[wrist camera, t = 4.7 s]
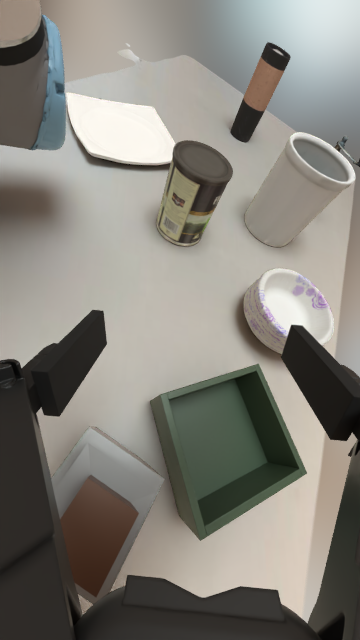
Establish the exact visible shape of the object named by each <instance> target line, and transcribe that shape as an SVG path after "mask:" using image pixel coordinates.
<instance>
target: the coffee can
mask: <svg viewBox="0 0 360 640" xmlns="http://www.w3.org/2000/svg"><path fill="white" fill-rule="evenodd" d="M172 155H173V157H172V161H171V165H170V169H169V173H168V177H167V181H166V185H165V189H164V193H163V198H162V202H161V206H160V210H159V214H158V218H157V221H156V225H157V229H158V231H159V232H160V234H161V235H162V236H163V237H164V238H165V239H167V240H168V241H170V242H172V243H174V244H176V245H180V246H191V245H194V244H196V243H198V242H199V240H200V239H201V236H202V234H203V232H204V230H205V228H206V226H207V224H208V222H209V220H210V218H211V216H212V214H213V212H214V210H215V208H216V206H217V204H218V202H219V199H220V198H221V196H222V193H223V191H224V189H225V187H226V185H227V183H228V182H229V181H230V179H231V177H232V174H233V170H232V167H231V165H230V163H229V162H228V160H227V159H226V158H225V157H224V156H223V155H222V154H221V153H219V152H218V151H217V150H215V149H213V148H212V147H210V146H208V145H205V144H203V143H200V142H196V141H188V140H187V141H181V142H178V143H177V144H176V145H175V146H174V148H173V153H172Z"/></svg>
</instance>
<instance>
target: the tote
mask: <svg viewBox="0 0 360 640" xmlns="http://www.w3.org/2000/svg"><path fill="white" fill-rule="evenodd" d="M150 403H151V407H152V411H153V415H154V419H155V423H156V426H157V430H158V434H159V438H160V442H161V446H162V450H163V454H164V458H165V462H166V466H167V469H168V473H169V477H170V481H171V485H172V489H173V493H174V497H175V501H176V505H177V508H178V512H179V516H180V517H181V518H182V520H183V521H184V522H185V523H186V524H187V526H188V527H189V528H190V529H191V530H192V532H193V533H194V534H195V535H196V536H197V538H198V539H199V540H200V541H201V540H202V539H204V538H206V537H207V536H209V535H210V534H212V533H213V532H215V531H217V530H218V529H220V528H221V527H223V526H224V525H226V524H228V523H229V522H231V521H232V520H234V519H236V518H237V517H239V516H240V515H242V514H243V513H245V512H247V511H248V510H250V509H251V508H253V507H255V506H256V505H258V504H259V503H261V502H262V501H264V500H266V499H267V498H269V497H270V496H272V495H274V494H275V493H277V492H278V491H280V490H281V489H283V488H285V487H286V486H288V485H289V484H291V483H293V482H294V481H296V480H297V479H299V478H300V477H302V476H303V475H305V474H307V472H306V470H305V467H304V465H303V463H302V461H301V458H300V456H299V454H298V452H297V449H296V447H295V445H294V443H293V440H292V438H291V436H290V433H289V431H288V429H287V427H286V424H285V422H284V420H283V418H282V415H281V413H280V411H279V409H278V406H277V404H276V402H275V400H274V397H273V395H272V393H271V391H270V388H269V386H268V384H267V382H266V379H265V377H264V375H263V373H262V370H261V368H260V366H259V364H256V365H253V366H250V367H247V368H244V369H240V370H237V371H234V372H231V373H228V374H225V375H221V376H218V377H215V378H212V379H209V380H205V381H202V382H199V383H196V384H193V385H189V386H186V387H183V388H180V389H177V390H174V391H170V392H167V393H164V394H161V395H159V396H157V397H156V398H154V399H153V400H151V401H150Z"/></svg>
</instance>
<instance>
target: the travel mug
mask: <svg viewBox="0 0 360 640" xmlns="http://www.w3.org/2000/svg"><path fill="white" fill-rule="evenodd" d="M289 60H290V55H289V54H288V53H287V52H285V51H284V50H283V49H282V48H280V47H278V46H277V45H275V44H272V43H267V44H266V46H265V48H264V51H263V53H262V56H261V58H260V60H259V62H258V65H257V67H256V70H255V72H254V74H253V77H252V79H251V81H250V84H249V86H248V88H247V91H246V93H245V95H244V98H243V100H242V103H241V105H240V108H239V111H238V113H237V116H236V118H235V121H234V123H233V126H232V129H231V134H232V135H233V136H234V137H235V138H236V139H238V140H240V141H242V142H248V141H249V139H250V138H251V136H252V134H253V132H254V130H255V128H256V126H257V124H258V123H259V121H260V119H261V117H262V115H263V113H264V111H265V109H266V107H267V105H268V103H269V101H270V99H271V97H272V95H273V93H274V91H275V89H276V87H277V85H278V83H279V81H280V79H281V77H282V75H283V73H284V70H285V68H286V66H287V64H288V62H289Z"/></svg>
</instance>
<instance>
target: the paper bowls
mask: <svg viewBox="0 0 360 640" xmlns="http://www.w3.org/2000/svg"><path fill="white" fill-rule="evenodd" d="M244 313H245V317H246V319H247V322H248V324H249V326H250V328H251V330H252V332H253V333H254V334H255V336H256V337H257V338H258V339H259V340H260V341H261V342H262V343H263V344H265V345H266V346H267V347H268V348H270V349H272V350H273V351H276V352H278V353H280V354H282V352H283V349H284V346H285V343H286V340H287V336H288V333H289V330H290V327H291V325H302V326H303V327H304V328H305V329H306V330H307V331H308V332H309V333H310V334H311V335H312V336H313V337H314V338H315V339H316V340H317V341H318V342H319V343H320V344H321V345H322V346H323V345H325V344H326V343H327V342H328V341H329V340H330V338H331V337H332V334H333V331H334V319H333V314H332V311H331V308H330V306H329V304H328V302H327V300H326V299H325V297H324V296H323V294H322V293H321V292H320V291H319V290H318V288H317V287H316V286H315V285H314V284H313V283H312V282H311V281H309V280H308V279H307V278H305V277H304V276H302V275H301V274H299V273H297V272H294V271H292V270H289V269H284V268H276V269H271V270H269V271H267V272H265V273H264V274H263V275H262V276H261V277H260V278H259V279H257V280H256V282H255V283H253V284H252V285H251V287H250V288H249V289H248V290H247V292H246V294H245V297H244Z"/></svg>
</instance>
